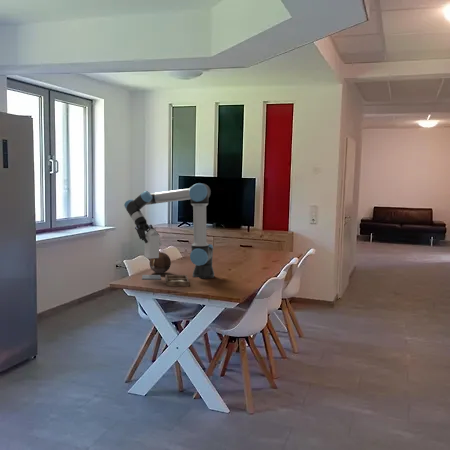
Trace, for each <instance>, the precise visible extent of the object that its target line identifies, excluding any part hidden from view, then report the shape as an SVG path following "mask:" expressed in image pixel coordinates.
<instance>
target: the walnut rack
mask: <svg viewBox="0 0 450 450" xmlns="http://www.w3.org/2000/svg"><path fill="white" fill-rule="evenodd" d="M164 280H165V287H190V281H189V280H190V279H189V278H188V275H186V274H183V275H182V274H165V278H164ZM174 280H183V281H174Z"/></svg>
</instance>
